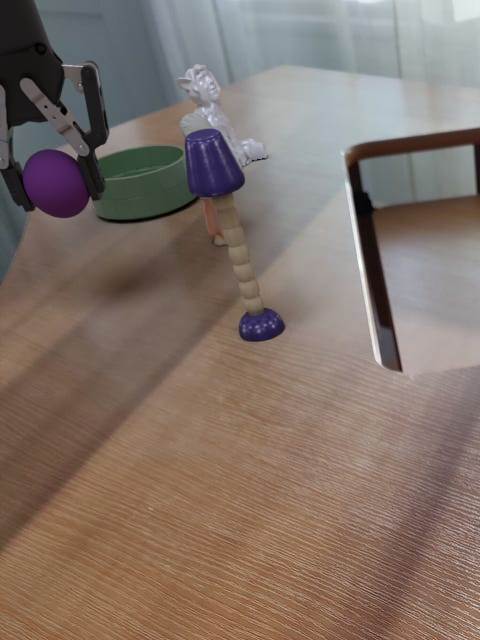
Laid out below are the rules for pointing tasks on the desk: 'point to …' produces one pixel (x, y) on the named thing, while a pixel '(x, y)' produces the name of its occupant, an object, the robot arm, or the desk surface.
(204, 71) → the white creature statuette
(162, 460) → the desk surface
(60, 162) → the ball
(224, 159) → the toy lamp
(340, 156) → the desk surface
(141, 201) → the bowl
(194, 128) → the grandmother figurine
